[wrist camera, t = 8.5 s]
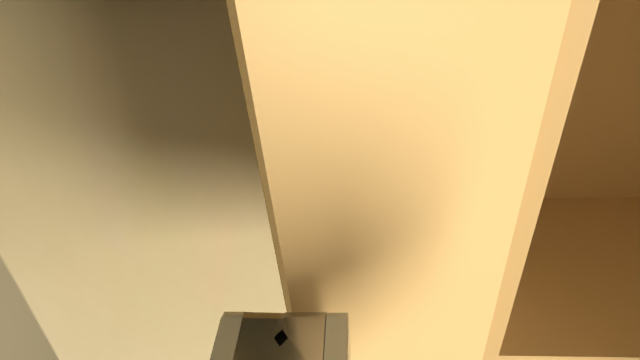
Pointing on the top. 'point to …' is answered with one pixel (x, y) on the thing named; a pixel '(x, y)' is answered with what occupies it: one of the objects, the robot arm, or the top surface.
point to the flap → (396, 156)
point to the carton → (580, 203)
